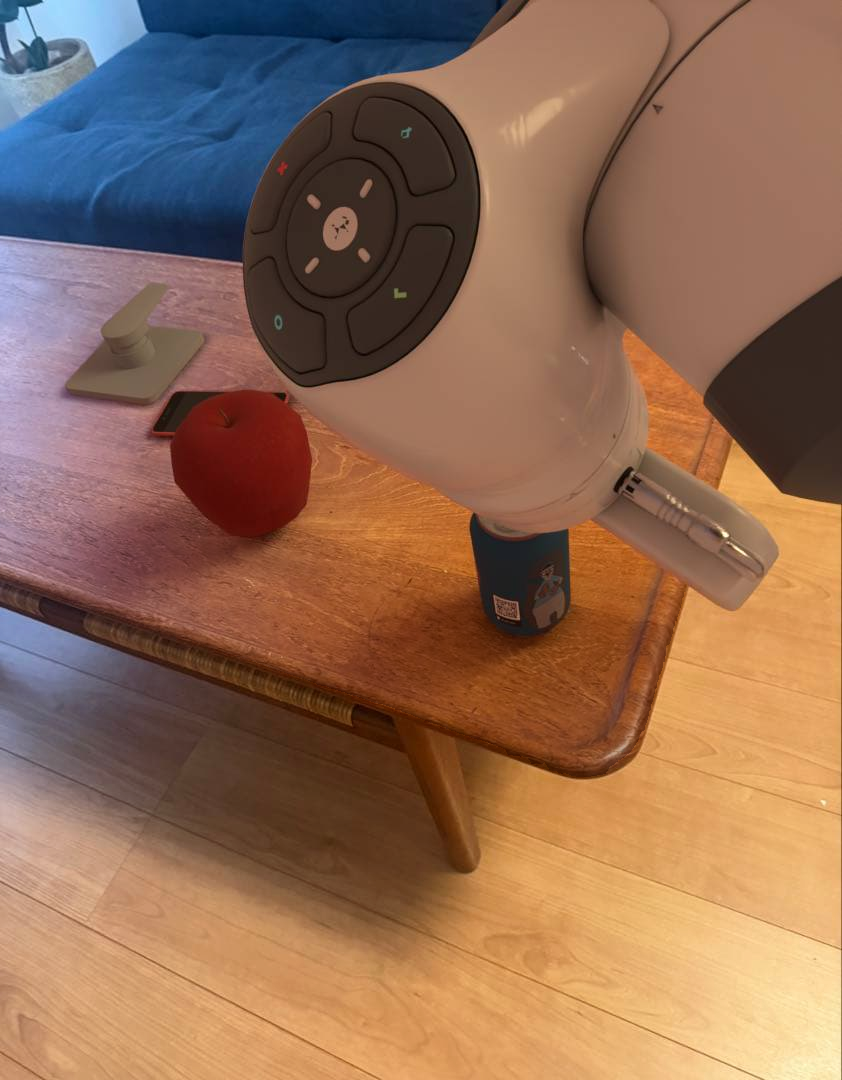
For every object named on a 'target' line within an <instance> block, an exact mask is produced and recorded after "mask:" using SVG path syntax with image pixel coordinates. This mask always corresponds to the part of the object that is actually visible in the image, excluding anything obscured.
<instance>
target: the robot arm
mask: <svg viewBox="0 0 842 1080" xmlns="http://www.w3.org/2000/svg"><path fill="white" fill-rule="evenodd" d="M246 218H247V219H246V224H245V230H244V236H243V242H242V243H243V244H242V281H243V282H242V283H243V284H242V285H243V293H244V300H245V305H246V309H247V313H248V318H249V321H250V325H251V328H252V330H253V333H254V336H255V338H256V340H257V342H258V345H259V347H260V349H261V351H262V352H261V353H262V354H263V355H264V357H265V359H266V361H267V363H268V365H269V366H270V368H271V370H272V371H273V373H274V375H276V377H277V378H278V380H279V382H280V383H281V384H282V385H283V387H284V388H285V389H286V390H287V392H288V393H290V395H292V397H293V398H294V399H295V400H296V401H297V402H298V403H299V404H300V405H301V406H302V407H303V408H304V409H305V410H306V411H307V412H308V413H310V415H312V416H313V417H314V418H315V419H316V420H317V421H319V423H321V424H323V425H324V426H325V427H326V428H328V429H329V430H330V431H332V432H333V433H335V434H336V435H338V436H339V437H340V438H342V439H343V440H344V441H346V442H347V443H348V444H350V445H352V446H353V447H354V448H356V449H357V450H359V451H360V452H362V453H364V454H365V455H367V456H368V457H370V458H372V460H373V459H374V460H375V461H377V462H379V463H380V464H382V465H383V466H385V467H387V468H389V469H390V470H392V471H394V472H396V473H397V474H399V475H401V476H403V477H404V478H407V479H409V480H411V481H414V482H417V483H419V484H422V485H425V486H430V487H431V488H433V489H434V490H436V491H437V493H439V494H440V495H442V496H443V497H444V498H446V499H448V500H450V501H451V502H453V503H455V504H457V505H459V506H461V507H462V508H464V509H466V510H468V511H470V512H472V513H473V512H474V513H476V514H478V515H480V516H482V517H484V518H486V519H488V520H490V521H491V522H493V523H495V524H497V525H500V526H502V527H505V528H508V529H511V530H515V531H520V532H526V533H549V532H556V531H561V530H565V529H568V528H569V529H572V528H574V527H577V526H580V525H582V524H583V523H586V522H588V521H589V520H590V521H591V522H593V523H594V524H596V525H598V526H599V527H600V528H602V529H603V530H605V531H606V532H608V533H609V534H611V535H612V536H613V537H615V538H616V539H618V540H619V541H621V542H622V543H624V544H625V545H627V546H628V547H630V548H631V549H633V550H635V551H636V552H637V553H639V554H640V555H642V556H643V557H645V559H647V560H649V561H651V562H652V563H654V564H655V565H656V566H658V567H660V569H662V570H664V571H665V572H667V573H668V574H670V575H671V576H672V577H674V578H676V579H677V580H679V581H680V582H681V583H683V584H684V585H686V586H687V587H689V588H691V589H692V590H694V591H695V592H697V594H699V595H701V596H702V597H704V598H705V599H707V600H708V601H710V602H711V603H713V604H714V605H716V606H718V607H720V608H722V609H723V610H726V611H728V612H736V611H738V610H740V609H741V608H742V606H743V605H744V604H745V603H746V602H747V601H748V599H749V598H750V597H751V595H752V594H753V593H754V592H755V591H756V589H757V588H758V587H759V586H760V584H761V583H762V581H763V580H764V579H765V577H766V576H767V575H768V573H769V571H770V570H771V569H772V567H773V566H774V565H775V563H776V561H777V560H778V558H779V556H780V549H779V548H780V547H779V546H778V543H777V542H776V540H775V538H774V537H773V535H772V534H771V532H770V531H769V529H768V528H767V527H766V526H765V525H764V524H763V523H762V522H761V521H760V520H759V519H758V518H757V517H755V515H753V514H752V513H751V512H749V510H747V509H745V508H744V507H743V506H742V505H740V504H738V503H737V502H736V501H735V500H733V499H732V498H730V497H729V496H727V495H726V494H725V493H724V492H722V491H720V490H718V489H717V488H715V487H713V486H712V485H710V484H709V483H707V482H705V481H703V480H702V479H700V478H699V477H697V476H695V475H694V474H692V473H691V472H689V471H687V470H686V469H684V468H683V467H681V466H679V465H677V464H676V463H674V462H672V461H671V460H670V459H667V458H666V457H664V455H661V454H659V453H658V452H656V451H654V450H653V449H651V448H649V447H648V446H647V444H648V441H649V432H650V414H649V413H650V412H649V405H648V400H647V397H646V396H647V395H646V393H645V389H644V387H643V385H642V382H641V380H640V377H639V375H638V374H637V371H636V370H635V368H634V366H633V363H632V362H631V360H630V358H629V356H628V354H627V352H626V349H625V348H624V345H623V339H624V335H625V332H626V331H627V329H628V330H629V331H630V332H631V333H632V334H633V335H634V336H635V337H637V339H639V340H640V341H641V342H642V343H643V344H644V345H646V346H647V347H648V349H650V350H651V351H652V352H653V353H654V354H656V356H657V357H658V358H659V359H661V360H662V361H663V362H664V363H665V364H666V365H667V366H668V367H670V369H672V370H673V371H674V372H675V373H676V374H677V375H678V376H679V377H681V379H683V381H684V382H685V383H687V384H688V385H689V386H690V387H691V388H692V389H694V391H695V392H697V393H698V394H699V395H700V397H702V404H703V406H704V407H705V408H706V410H707V411H708V412H709V413H710V414H711V416H712V417H714V419H715V420H716V421H717V422H718V423H719V424H720V425H721V427H722V428H723V429H724V430H725V431H726V432H727V434H728V435H729V436H730V437H731V438H732V439H733V440H734V441H735V442H736V444H737V445H738V446H739V447H740V448H741V450H742V451H743V452H744V453H745V454H746V455H747V456H748V457H749V458H750V460H752V462H753V463H754V464H755V465H756V466H757V468H758V469H759V470H760V471H761V472H762V473H763V474H764V476H766V478H767V479H768V480H769V481H770V482H771V483H772V484H773V486H774V487H776V490H778V491H779V492H780V493H781V494H782V495H787V496H791V497H795V498H798V499H803V500H808V501H813V502H814V501H815V502H819V503H824V504H831V505H839V506H842V0H507V2H505V4H504V5H503V6H501V8H500V9H499V10H498V11H497V12H496V13H495V14H494V15H493V16H492V18H491V19H490V20H489V21H488V22H487V23H486V25H485V26H484V27H483V29H482V30H481V31H480V33H479V35H478V36H477V37H476V38H475V40H474V41H472V44H471V45H470V47H469V48H468V50H467V51H465V52H464V53H462V54H460V55H459V56H457V57H455V58H453V59H451V60H449V61H447V62H444V63H442V64H440V65H436V66H434V67H431V68H427V69H422V70H413V71H412V70H411V71H403V72H393V73H387V74H381V75H376V76H372V77H369V78H366V79H362V80H360V81H357V82H354V83H352V84H350V85H348V86H346V87H344V88H342V89H340V90H338V91H337V92H335V93H334V94H332V95H330V96H329V97H327V98H326V99H325V100H323V101H322V102H321V103H320V104H318V105H317V106H316V107H314V108H313V109H312V110H310V111H309V112H308V113H307V114H306V115H305V116H304V117H303V118H302V119H301V120H300V121H299V122H298V123H297V124H296V125H295V126H294V128H293V129H292V130H291V131H290V132H289V133H288V135H287V136H286V137H285V138H284V139H283V141H282V143H281V144H280V145H279V147H278V148H277V149H276V151H275V152H274V154H273V155H272V156H271V158H270V160H269V162H268V163H267V165H266V167H265V168H264V171H263V173H262V175H261V178H260V179H259V182H258V184H257V187H256V189H255V192H254V194H253V197H252V200H251V204H250V207H249V211H248V214H247V217H246Z"/></svg>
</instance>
